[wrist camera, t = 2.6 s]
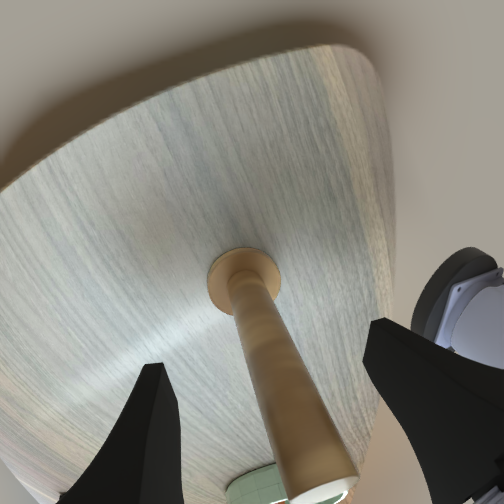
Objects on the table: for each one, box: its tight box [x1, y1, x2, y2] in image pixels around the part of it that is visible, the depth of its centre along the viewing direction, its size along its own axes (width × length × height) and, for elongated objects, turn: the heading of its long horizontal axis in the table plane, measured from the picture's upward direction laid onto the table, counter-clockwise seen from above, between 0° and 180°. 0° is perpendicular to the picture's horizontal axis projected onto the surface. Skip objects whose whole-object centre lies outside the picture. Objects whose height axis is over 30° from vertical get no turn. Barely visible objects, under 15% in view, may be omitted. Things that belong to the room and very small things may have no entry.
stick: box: [207, 248, 360, 504], centre depth 10 cm, size 4×4×11 cm
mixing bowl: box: [225, 464, 348, 504], centre depth 25 cm, size 13×13×4 cm
